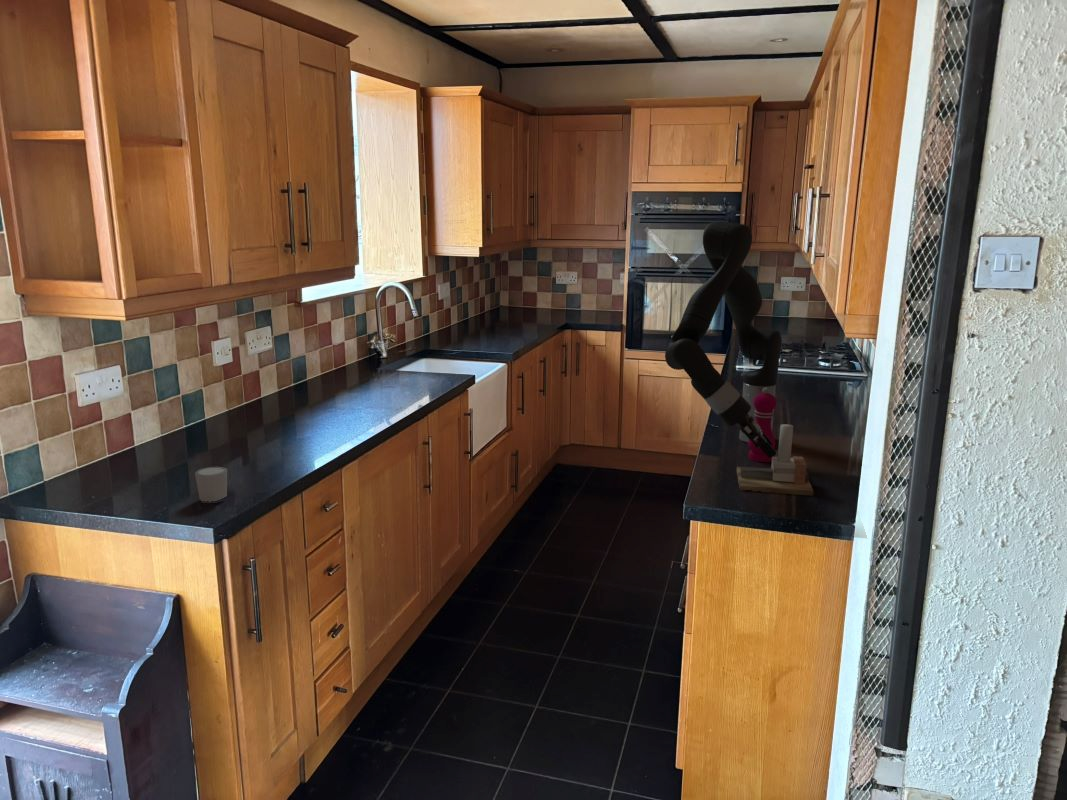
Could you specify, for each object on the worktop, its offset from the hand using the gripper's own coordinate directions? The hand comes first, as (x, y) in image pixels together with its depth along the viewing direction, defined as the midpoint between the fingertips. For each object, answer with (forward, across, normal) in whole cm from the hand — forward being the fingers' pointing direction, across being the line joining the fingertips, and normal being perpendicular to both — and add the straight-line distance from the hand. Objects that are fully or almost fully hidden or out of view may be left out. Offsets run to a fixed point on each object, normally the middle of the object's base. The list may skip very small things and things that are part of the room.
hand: (771, 450), depth 194 cm
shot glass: (-83, -40, +96) cm, 133 cm away
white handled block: (+7, 0, +3) cm, 7 cm away
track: (+7, 0, +5) cm, 8 cm away
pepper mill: (+6, +20, +6) cm, 22 cm away
